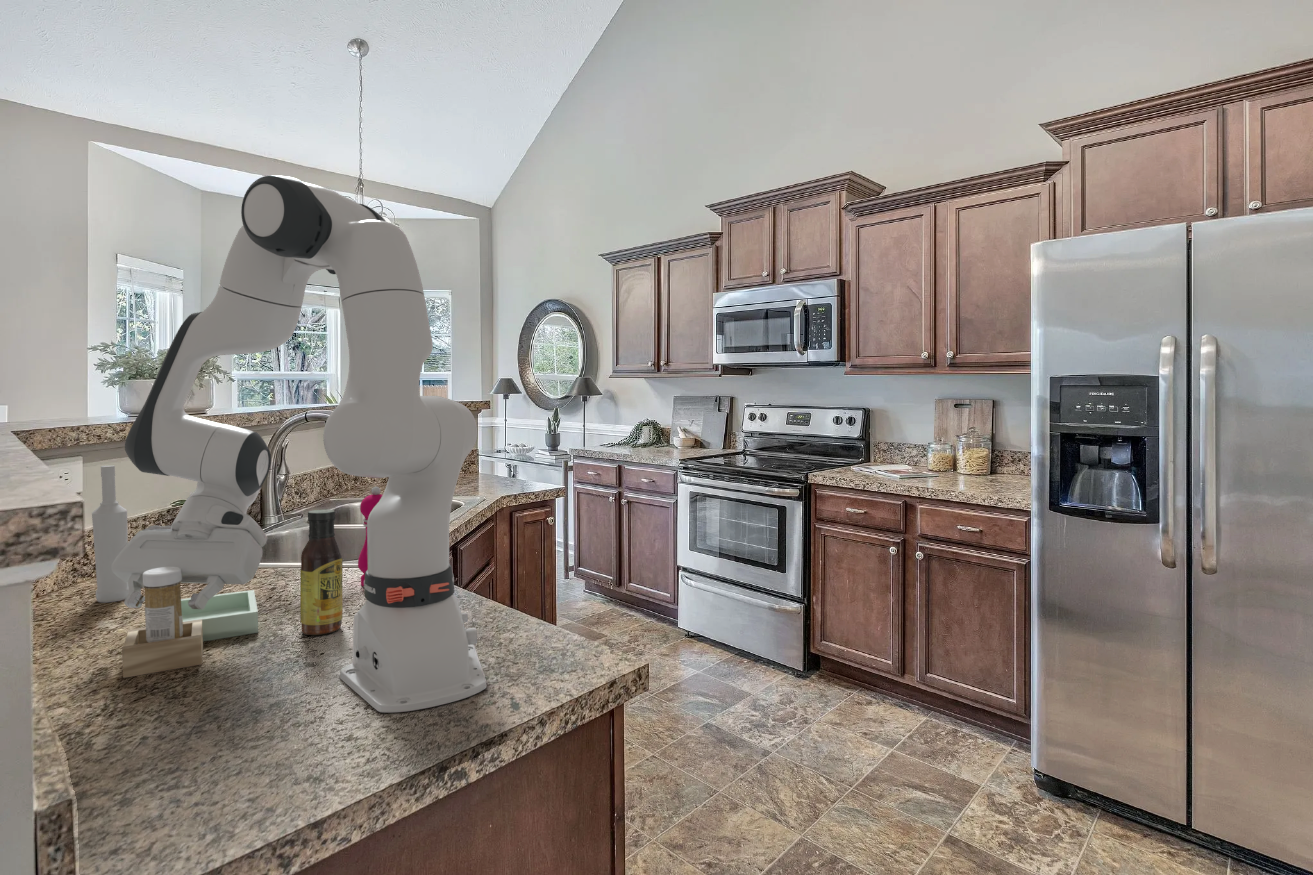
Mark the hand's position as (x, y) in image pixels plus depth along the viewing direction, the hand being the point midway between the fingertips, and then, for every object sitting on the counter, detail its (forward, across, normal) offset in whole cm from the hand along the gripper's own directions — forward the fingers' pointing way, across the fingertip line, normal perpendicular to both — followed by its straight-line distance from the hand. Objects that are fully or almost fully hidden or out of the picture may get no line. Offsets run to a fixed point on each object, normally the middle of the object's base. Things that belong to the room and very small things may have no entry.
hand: (163, 606), depth 99 cm
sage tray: (-4, -3, +15) cm, 16 cm away
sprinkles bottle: (+6, 0, +6) cm, 8 cm away
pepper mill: (-23, +14, +34) cm, 44 cm away
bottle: (-14, -31, +25) cm, 42 cm away
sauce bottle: (-4, +16, +15) cm, 23 cm away
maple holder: (+6, 0, +6) cm, 8 cm away
